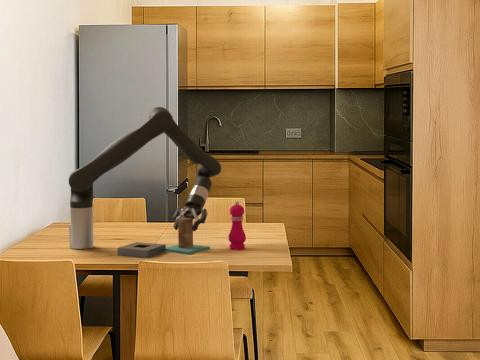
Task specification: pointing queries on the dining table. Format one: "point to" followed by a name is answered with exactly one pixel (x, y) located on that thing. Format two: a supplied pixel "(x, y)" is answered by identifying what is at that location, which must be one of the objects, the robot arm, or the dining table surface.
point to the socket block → (141, 249)
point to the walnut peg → (185, 233)
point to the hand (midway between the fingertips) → (184, 229)
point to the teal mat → (187, 251)
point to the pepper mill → (237, 228)
